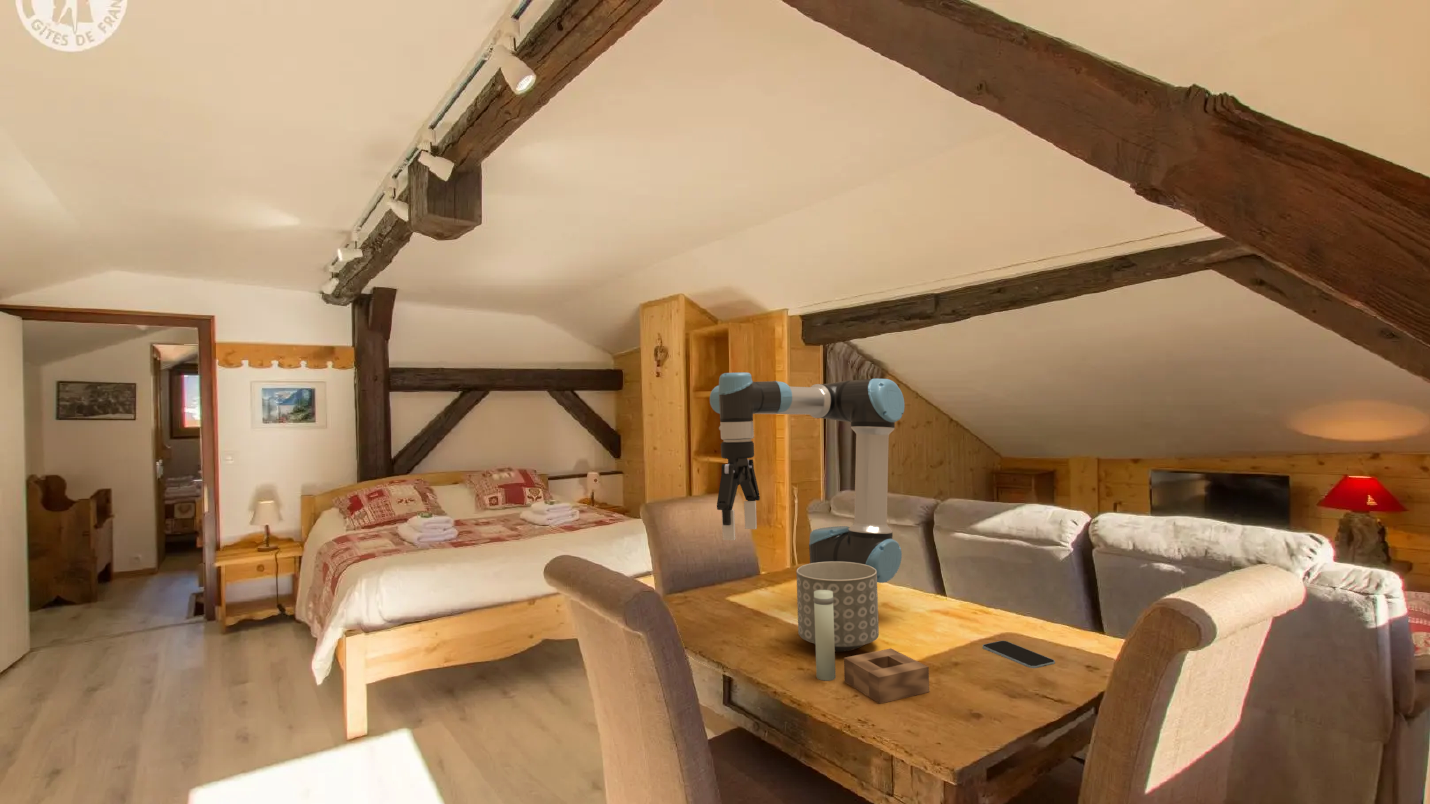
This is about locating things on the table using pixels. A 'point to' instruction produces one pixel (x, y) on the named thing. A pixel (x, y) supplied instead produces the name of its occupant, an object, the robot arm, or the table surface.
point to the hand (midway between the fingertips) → (740, 534)
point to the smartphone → (1018, 654)
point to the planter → (840, 602)
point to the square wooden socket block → (886, 675)
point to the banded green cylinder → (824, 635)
